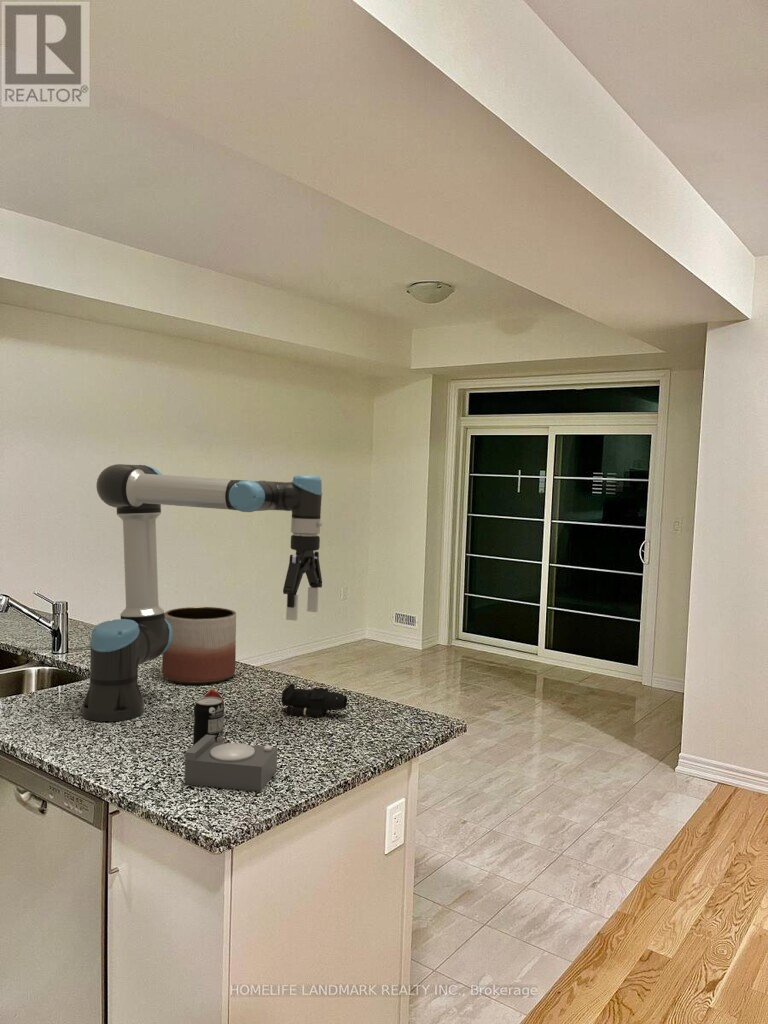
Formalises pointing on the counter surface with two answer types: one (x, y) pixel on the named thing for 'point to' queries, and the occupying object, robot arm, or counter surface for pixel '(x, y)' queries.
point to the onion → (214, 694)
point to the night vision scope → (312, 701)
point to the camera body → (229, 765)
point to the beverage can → (208, 719)
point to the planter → (200, 645)
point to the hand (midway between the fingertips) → (302, 615)
